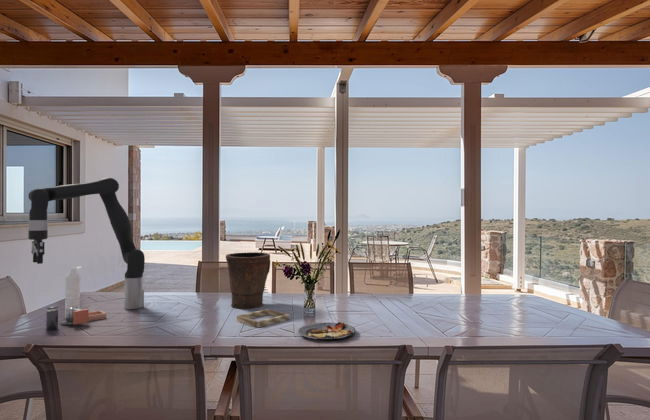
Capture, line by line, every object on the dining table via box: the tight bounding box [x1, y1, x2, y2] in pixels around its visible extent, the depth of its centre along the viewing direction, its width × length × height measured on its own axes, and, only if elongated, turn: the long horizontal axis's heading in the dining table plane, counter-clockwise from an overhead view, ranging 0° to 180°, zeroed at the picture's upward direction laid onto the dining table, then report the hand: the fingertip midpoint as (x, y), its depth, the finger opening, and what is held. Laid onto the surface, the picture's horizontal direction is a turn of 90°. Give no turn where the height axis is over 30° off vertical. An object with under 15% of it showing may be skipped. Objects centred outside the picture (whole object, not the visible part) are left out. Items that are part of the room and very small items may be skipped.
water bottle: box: [64, 265, 83, 318], centre depth 204 cm, size 9×6×25 cm
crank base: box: [60, 319, 74, 326], centre depth 189 cm, size 9×9×1 cm
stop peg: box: [45, 305, 59, 332], centre depth 178 cm, size 4×4×10 cm
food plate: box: [298, 321, 356, 340], centre depth 171 cm, size 25×23×4 cm
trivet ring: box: [236, 308, 290, 328], centre depth 194 cm, size 21×18×2 cm
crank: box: [65, 307, 90, 326], centre depth 187 cm, size 12×6×6 cm, turn 57°
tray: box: [88, 309, 107, 322], centre depth 197 cm, size 9×9×2 cm
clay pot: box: [225, 251, 271, 310], centre depth 229 cm, size 25×29×30 cm
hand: (37, 263), depth 188 cm, fingers open, 8 cm apart
